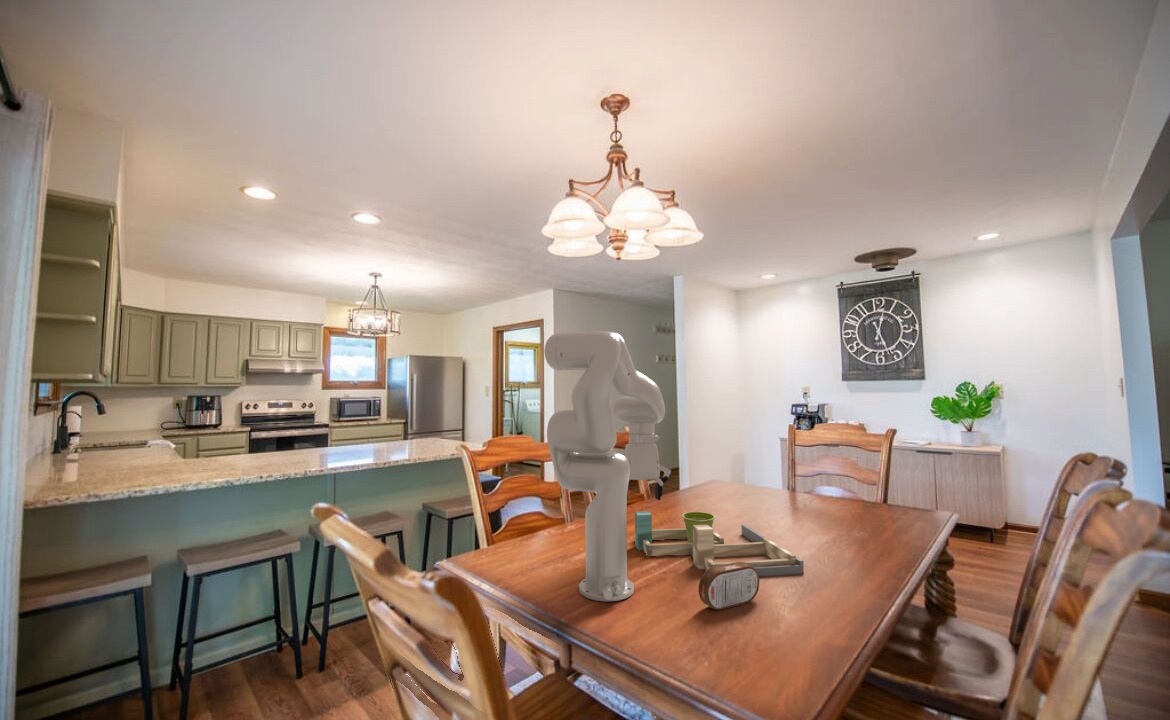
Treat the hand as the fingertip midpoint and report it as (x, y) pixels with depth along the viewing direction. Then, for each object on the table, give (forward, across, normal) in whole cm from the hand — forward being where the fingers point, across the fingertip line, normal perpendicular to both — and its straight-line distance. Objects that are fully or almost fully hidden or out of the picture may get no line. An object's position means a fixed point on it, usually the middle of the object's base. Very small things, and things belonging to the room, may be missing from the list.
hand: (641, 499), depth 138 cm
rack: (+14, -23, +7) cm, 28 cm away
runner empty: (+14, -23, +15) cm, 31 cm away
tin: (+16, -10, +37) cm, 41 cm away
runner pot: (+14, -11, -1) cm, 18 cm away
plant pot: (+14, -18, -1) cm, 22 cm away
